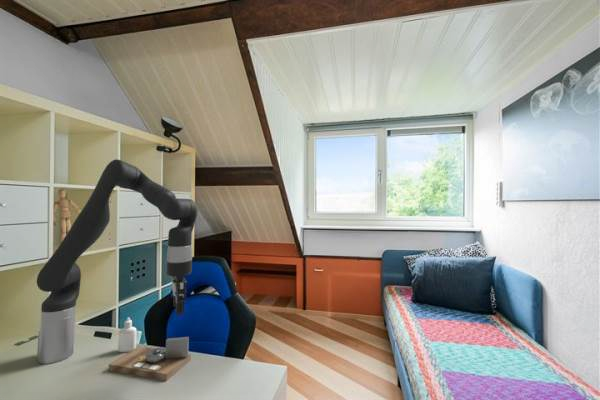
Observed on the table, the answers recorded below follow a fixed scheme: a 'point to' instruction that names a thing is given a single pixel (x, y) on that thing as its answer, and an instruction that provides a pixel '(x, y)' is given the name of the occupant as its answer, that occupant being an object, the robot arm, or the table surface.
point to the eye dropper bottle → (127, 337)
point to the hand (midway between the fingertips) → (178, 310)
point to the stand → (147, 365)
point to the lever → (168, 351)
